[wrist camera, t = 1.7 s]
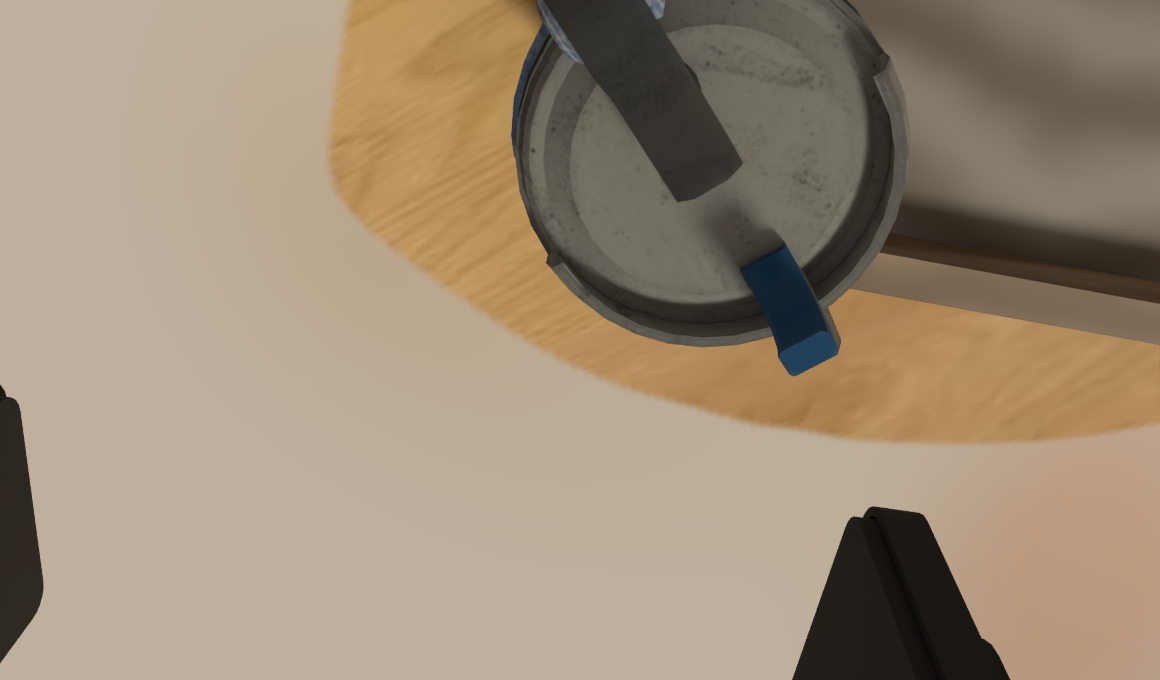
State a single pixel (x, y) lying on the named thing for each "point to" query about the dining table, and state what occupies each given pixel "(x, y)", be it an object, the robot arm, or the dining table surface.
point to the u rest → (1027, 160)
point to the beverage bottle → (711, 164)
